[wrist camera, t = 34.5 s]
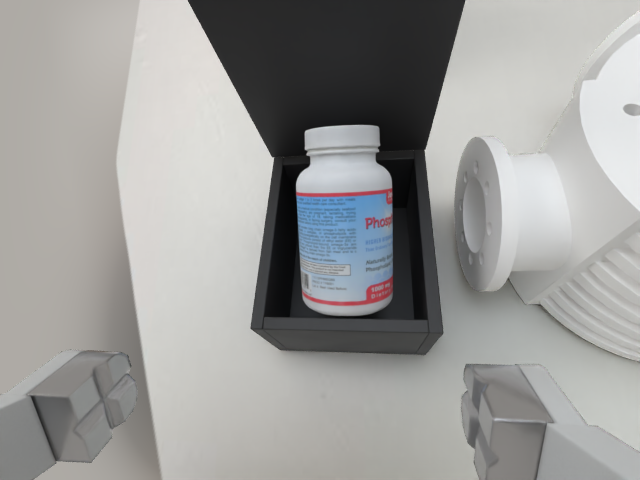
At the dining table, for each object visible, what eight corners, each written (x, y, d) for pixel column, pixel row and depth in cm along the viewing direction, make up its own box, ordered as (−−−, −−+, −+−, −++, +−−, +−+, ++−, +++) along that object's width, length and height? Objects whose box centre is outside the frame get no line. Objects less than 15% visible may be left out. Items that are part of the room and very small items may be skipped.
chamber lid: (485, -73, 12) (471, -167, 13) (171, -29, 14) (188, -117, 15) (425, 149, 26) (421, 91, 27) (272, 157, 27) (276, 102, 29)
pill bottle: (392, 323, 20) (391, 119, 18) (291, 317, 22) (278, 128, 19) (393, 286, 26) (393, 129, 24) (314, 284, 27) (306, 135, 25)
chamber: (425, 354, 27) (443, 333, 20) (279, 350, 29) (249, 328, 22) (413, 205, 33) (424, 149, 26) (293, 208, 35) (274, 157, 28)
